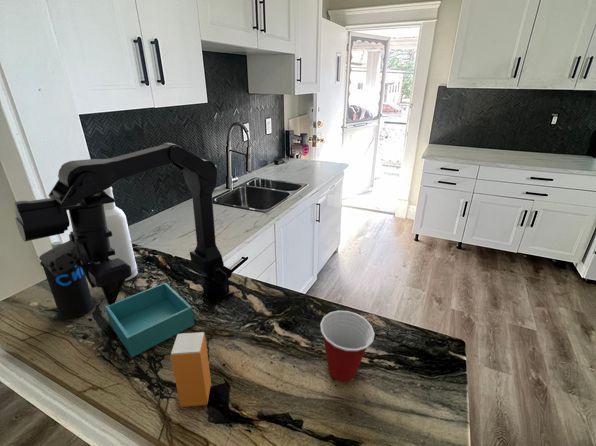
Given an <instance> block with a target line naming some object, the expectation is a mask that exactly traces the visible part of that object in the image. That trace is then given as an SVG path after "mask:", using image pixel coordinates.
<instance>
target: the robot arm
mask: <svg viewBox="0 0 596 446" xmlns="http://www.w3.org/2000/svg"><path fill="white" fill-rule="evenodd" d="M168 165H172V166H173V167H175V168H177V169H178V170H180V171H182V175H183V178H184V181H185V184H186V186H187V188H188V190H189V191H190V194H191V197H192V209H193V217H194V218H193V219H194V228H195V238H196V239H195V240H196V247H195V248H194V250H191V251H189V257H190V263H189V264H190V265H191V266H192V268H193V269H194V271H197V272H198V273H199V274H202V275H203V277H202V280H203V282H202V290H201V291H202V295H204V296H205V297H206V299H209V300H210V301H211V302H212V303H216V302H219V300H222V299H224V298H226V297H228V296H230V295H232V294H233V291H232V290H231V289H230V283H229V279H232V275H233V269H231V268H229V267H227V266H226V265H225V264H224V259H223V255H222V253H221V251H220V249H219V248H218V247H217V243H216V229H215V227H216V226H215V216H214V214H215V213H214V203H213V202H214V201H213V193H214V192H215V189H216V187H217V184H218V174H219V171H218V166H217V164H215V163H214V162H213V161H211V160H209V159H204V158H201V157H199V156H197V155H195V154H193V153H192V152H189V151H188V150H186V149H185V148H183V147H182V146H181V145H180V144H176V143H171V142H164V143H162V144H160V145H156V146H152V147H149V148H145V149H141V150H136V151H134V152H130V153H126V154H122V155H118V156H114V157H110V158H87V159H77V160H70V161H67V162H64V163H63V164H62V165H61V166H60V168H59V169H58V174H57V177H58V180H57V181H56V183H55V185H54V186H53V187H52V189H51V190H50V192H49V194H48V197H47V198H40V199H33V200H19V201H15V202H14V203H13V204H14V207H15V209H14V211H15V217H14V219H15V223H16V227H17V230H18V232H19V235H20V237H21V239H22V241H23V242H29V241H30V242H31V241H34V240H40V239H43V238H48V237H53V236H58V235H63V234H64V233H65V231H68V230H69V227H70V225H71V228H72V229H71V230H72V231H70V232H69V234H68V238H69V240H67V241H66V242H63V243H61V244H60V245H58V246H57V247H55V248H53V249H52V248H51V249H49V250H48V251H46V252H44V253H42V254H41V255H39V256H38V259H39V261H40V262H41V261H42V263H43V264H44V265H45V266H46V267H47V268H48V269H49V271H50V272H51V273H52V274H53V275H54V276H59V275H61V274H63V273H64V272H66V271H68V270H70V269H71V268H73V267H75V265H78V266H80V267H81V269H82V270H83V272H84V274H85V276H86V280H87V282H88V283H89V285H90V287H91V288H92V289H93V288H101V291H102V293H103V296H104V297H105V300H106V302H107V304H108V305H112V304H114V303H115V302H117V299H118V296H119V295H120V292H121V289H122V287H123V285H124V283H125V282H126V281H125V279H127V278H128V277H130V276H131V275H132V273H131V266H129V265H128V264H127V263H126V262H124V261H123V260H121V259H119V258H116V259H113V260H110V259H109V256H112V255H115V250H114V249H112V248H111V246H110V240H109V237H111V236H112V231H110V230H109V229H108V228H107V222H106V216H105V210H104V204H107V203H113V202H115V203H116V199H115V198H112V197H110V196H109V195H107V194H106V192H105V191H104V190H106V189H108V188H110V187H113V186H114V185H115V184H116V183H117V182H119V181H121V180H122V179H125V178H128V177H131V176H135V175H138V174H141V173H144V172H149V171H151V170H154V169H157V168H160V167H164V166H168Z"/></svg>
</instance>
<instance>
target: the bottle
mask: <svg viewBox="0 0 596 446" xmlns="http://www.w3.org/2000/svg"><path fill="white" fill-rule="evenodd" d="M104 191H105V192H106V194H107V195H109V196H110V197H112V198H114V194H113V193H114V192H113V186H111V187H110V188H108V189H106V190H104ZM114 199H115V198H114ZM104 210H105V216H106V222H107V228H108V229H109V230H110V231H112V236H111V237H109V240H110V246H111V248H112V249H114V250H115V255H112V256H109V259H110V260H113V259H116V258H119V259H121V260H123V261H124V262H126V263H127V264H128V265H129V266H131V273H132V275H131V276H130V277H128V278H127V279H125V281H124V282H127V281H129V280H131V279H134V278H135V277H136V276H137V275H138V273H139V271H138V265H137V262H136V257H135V252H134V248H133V243H132V239H131V234H130V229H129V224H128V220H127V216H126V214H125V213H124V211H123V210H122V209H121V208H119V207H118V206H116V201H115V202H113V203H107V204H104Z"/></svg>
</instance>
